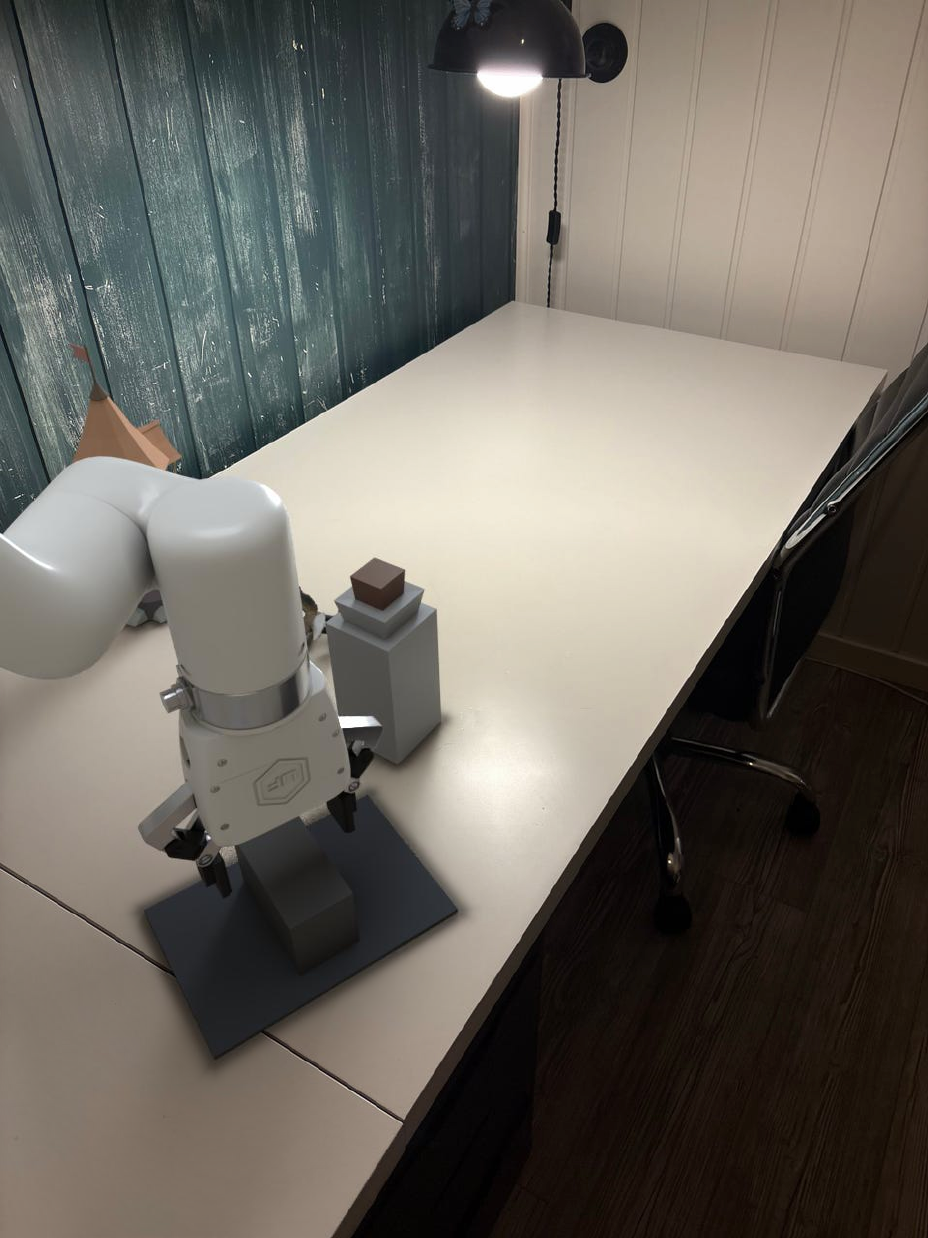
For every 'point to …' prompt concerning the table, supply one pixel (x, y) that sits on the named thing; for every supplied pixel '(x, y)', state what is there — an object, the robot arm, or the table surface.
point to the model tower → (122, 440)
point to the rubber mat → (252, 954)
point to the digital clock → (299, 894)
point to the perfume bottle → (386, 657)
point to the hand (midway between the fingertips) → (282, 850)
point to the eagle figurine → (313, 616)
